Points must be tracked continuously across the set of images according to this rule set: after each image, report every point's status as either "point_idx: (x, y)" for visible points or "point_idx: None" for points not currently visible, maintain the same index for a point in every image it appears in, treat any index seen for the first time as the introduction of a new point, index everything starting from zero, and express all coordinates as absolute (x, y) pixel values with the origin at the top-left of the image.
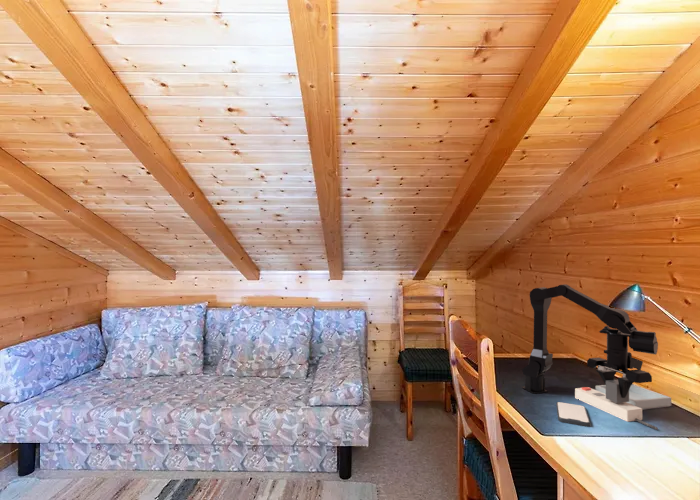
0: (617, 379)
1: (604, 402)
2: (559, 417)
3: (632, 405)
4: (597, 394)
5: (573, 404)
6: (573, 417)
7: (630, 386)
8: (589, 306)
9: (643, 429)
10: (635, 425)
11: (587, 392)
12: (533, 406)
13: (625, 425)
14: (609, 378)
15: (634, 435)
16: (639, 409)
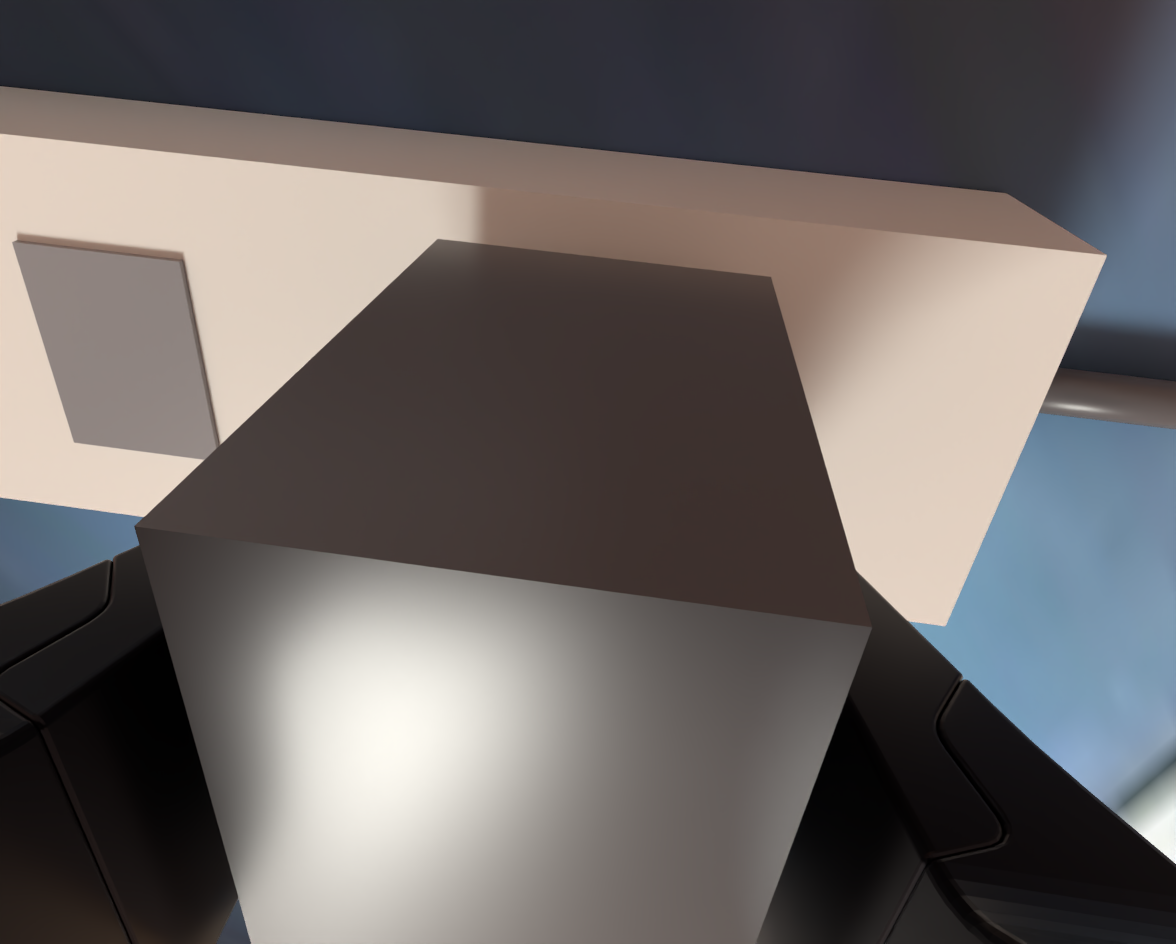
0: (163, 559)
1: None
2: None
3: (861, 273)
4: (131, 389)
5: None
6: None
7: (1055, 774)
8: None
9: (1161, 550)
10: (1029, 522)
11: (2, 449)
12: (238, 923)
13: (944, 631)
14: (138, 881)
15: (1138, 775)
16: (1062, 337)
